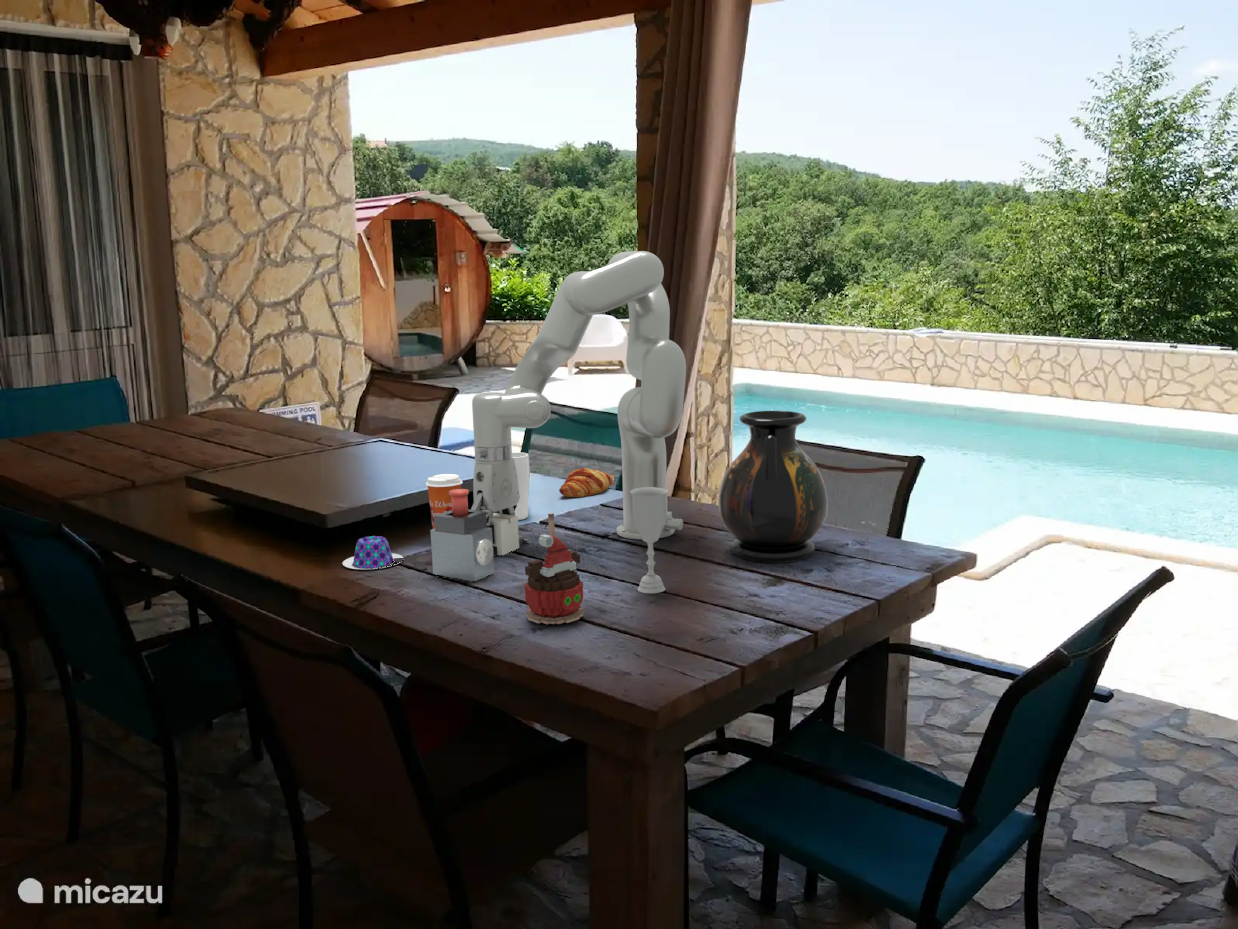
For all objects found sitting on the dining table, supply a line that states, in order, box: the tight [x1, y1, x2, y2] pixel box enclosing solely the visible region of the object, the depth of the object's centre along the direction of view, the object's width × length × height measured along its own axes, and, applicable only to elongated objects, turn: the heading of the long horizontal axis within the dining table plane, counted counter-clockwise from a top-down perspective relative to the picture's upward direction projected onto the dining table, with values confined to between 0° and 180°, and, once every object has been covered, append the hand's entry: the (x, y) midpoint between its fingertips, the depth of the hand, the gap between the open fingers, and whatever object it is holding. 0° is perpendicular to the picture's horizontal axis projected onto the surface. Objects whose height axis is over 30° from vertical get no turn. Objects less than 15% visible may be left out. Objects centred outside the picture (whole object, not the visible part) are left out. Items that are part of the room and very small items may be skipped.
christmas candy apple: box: [524, 512, 585, 625], centre depth 178 cm, size 11×9×18 cm
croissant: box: [558, 467, 615, 498], centre depth 276 cm, size 21×10×8 cm, turn 144°
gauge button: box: [449, 488, 470, 517], centre depth 204 cm, size 4×4×5 cm
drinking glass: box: [512, 451, 530, 521], centre depth 249 cm, size 7×7×15 cm
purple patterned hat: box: [342, 535, 404, 571], centre depth 216 cm, size 12×12×5 cm
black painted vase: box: [718, 410, 829, 564], centre depth 212 cm, size 22×22×28 cm
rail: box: [493, 535, 531, 556], centre depth 222 cm, size 5×16×2 cm, turn 150°
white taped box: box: [491, 512, 520, 556], centre depth 222 cm, size 6×6×7 cm
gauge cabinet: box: [429, 508, 495, 582], centre depth 205 cm, size 10×7×12 cm
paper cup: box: [425, 473, 464, 529], centre depth 231 cm, size 8×8×14 cm
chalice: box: [630, 487, 669, 594], centre depth 192 cm, size 7×7×18 cm
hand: (497, 538), depth 222 cm, fingers closed on white taped box, 6 cm apart
